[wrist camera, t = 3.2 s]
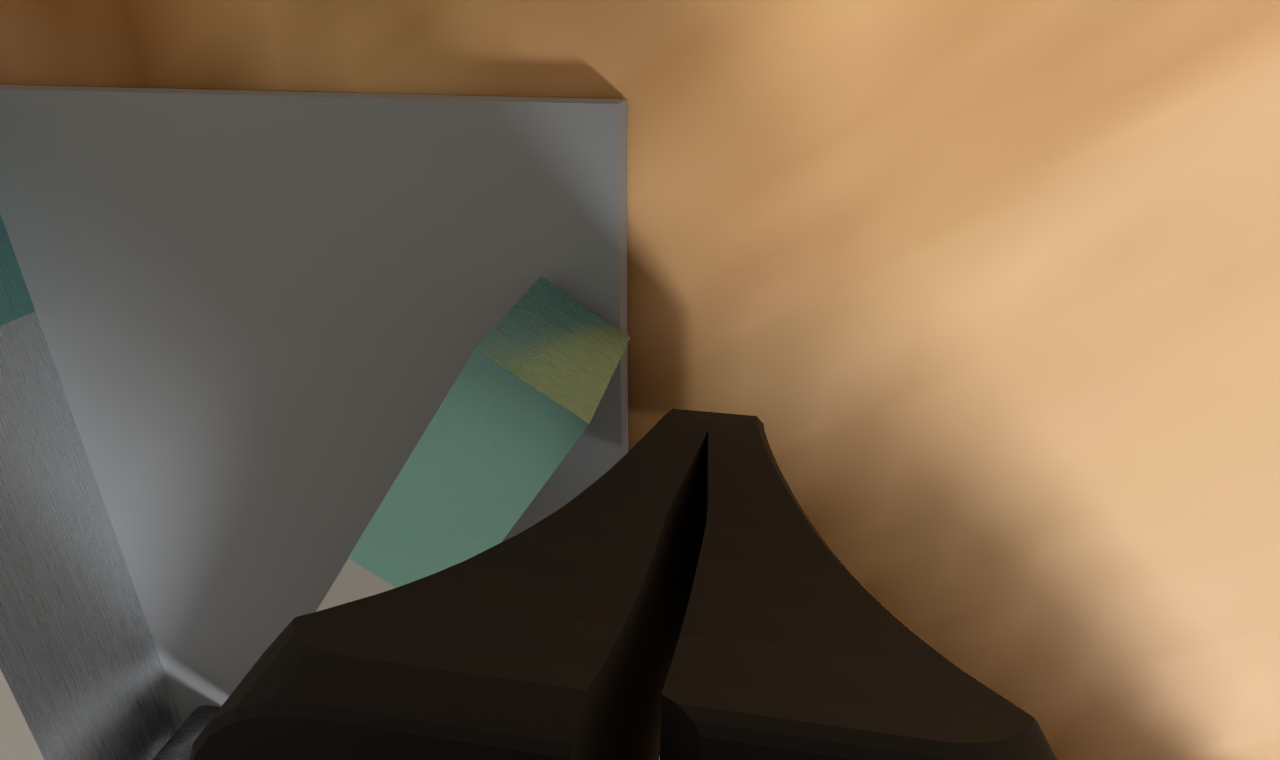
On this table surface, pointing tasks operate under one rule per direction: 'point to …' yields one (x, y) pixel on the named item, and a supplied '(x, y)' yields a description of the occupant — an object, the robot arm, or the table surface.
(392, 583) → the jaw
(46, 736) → the base
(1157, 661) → the table surface
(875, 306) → the table surface
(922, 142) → the table surface
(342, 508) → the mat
